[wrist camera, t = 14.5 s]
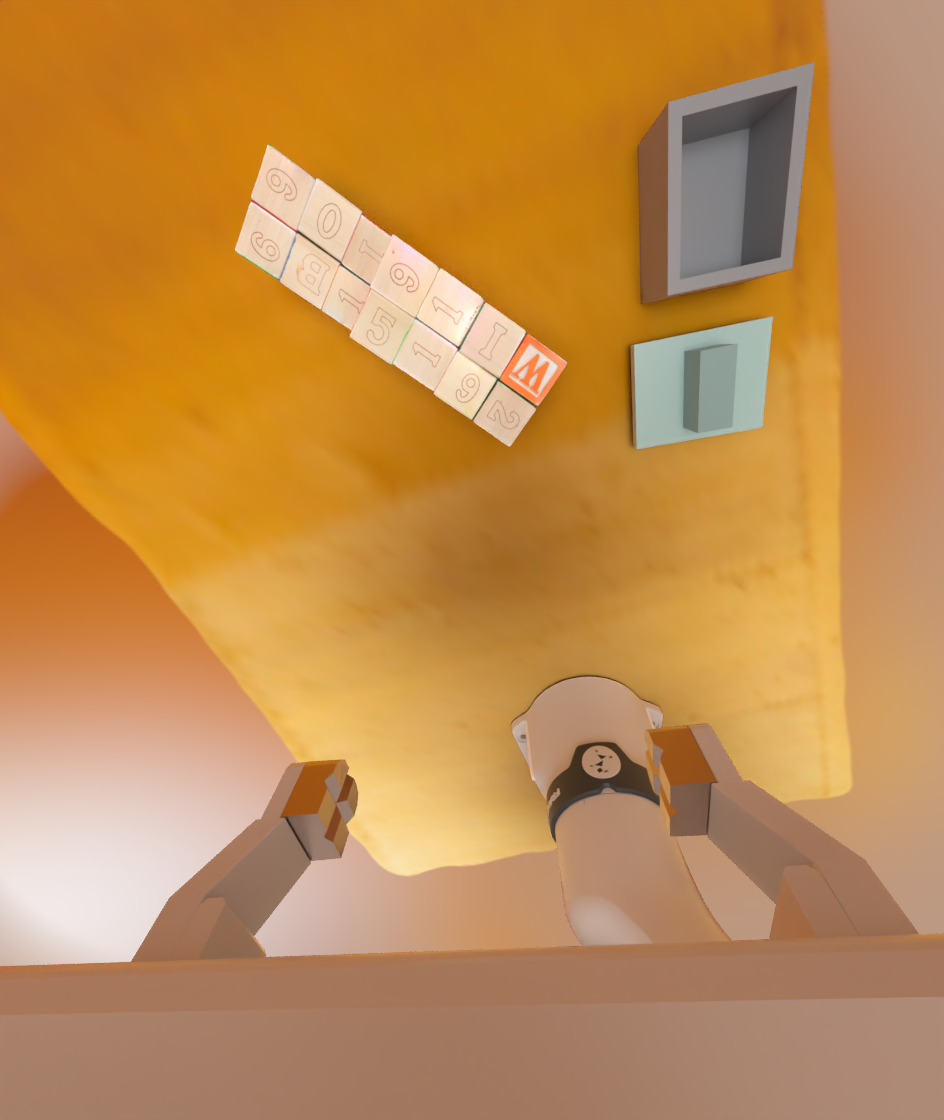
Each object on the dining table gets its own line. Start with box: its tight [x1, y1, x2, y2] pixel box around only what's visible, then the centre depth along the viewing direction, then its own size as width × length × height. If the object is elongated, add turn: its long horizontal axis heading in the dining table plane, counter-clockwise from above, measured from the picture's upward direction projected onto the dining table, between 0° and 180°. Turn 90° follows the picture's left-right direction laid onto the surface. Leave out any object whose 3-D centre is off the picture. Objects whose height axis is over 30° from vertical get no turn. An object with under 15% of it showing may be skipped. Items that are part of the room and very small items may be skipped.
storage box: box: [638, 63, 814, 304], centre depth 30 cm, size 10×8×6 cm
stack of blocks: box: [235, 144, 567, 447], centre depth 31 cm, size 21×6×12 cm, turn 57°
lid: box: [630, 317, 773, 449], centre depth 35 cm, size 10×8×5 cm
